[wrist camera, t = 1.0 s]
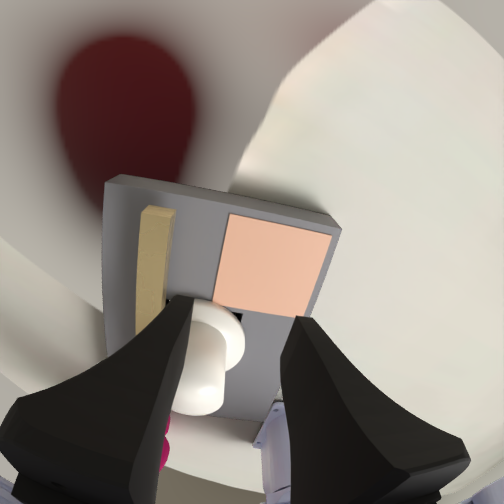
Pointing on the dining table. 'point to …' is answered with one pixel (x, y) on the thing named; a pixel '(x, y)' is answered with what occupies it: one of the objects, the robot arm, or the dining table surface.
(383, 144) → the dining table surface
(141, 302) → the bar
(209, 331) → the plug
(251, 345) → the socket block
